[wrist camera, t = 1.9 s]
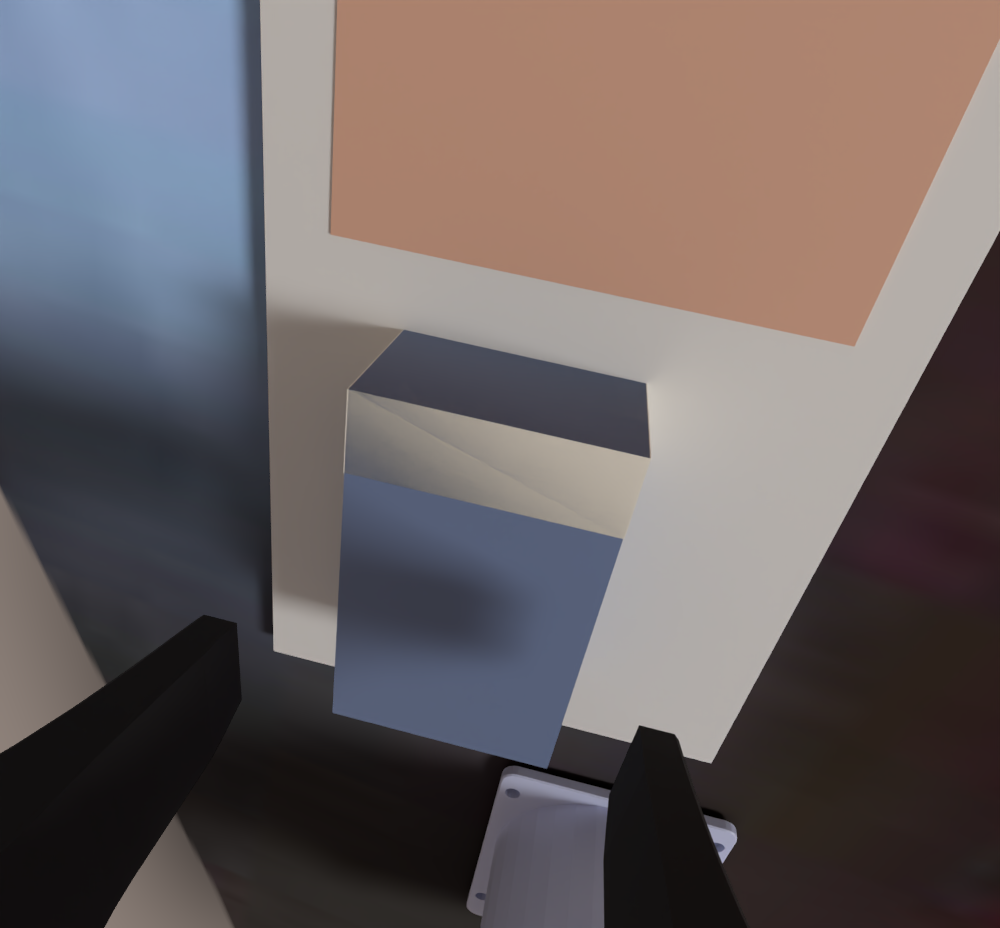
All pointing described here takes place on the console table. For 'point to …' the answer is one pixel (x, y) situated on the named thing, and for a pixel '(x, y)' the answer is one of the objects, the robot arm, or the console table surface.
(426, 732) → the card deck
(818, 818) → the console table surface
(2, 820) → the robot arm
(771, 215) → the mat
